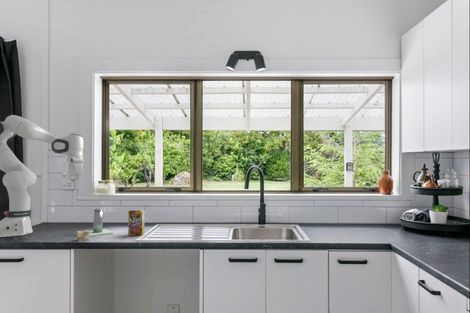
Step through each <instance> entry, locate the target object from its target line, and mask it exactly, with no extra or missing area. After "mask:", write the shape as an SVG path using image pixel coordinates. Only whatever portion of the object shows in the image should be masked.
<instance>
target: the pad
mask: <svg viewBox="0 0 470 313" xmlns="http://www.w3.org/2000/svg"><path fill="white" fill-rule="evenodd" d="M88 231H89V238H92V237H99V236H107V235H113V234H114V232H113V231H111V230H109V229H107V228H102V232H100V233H94V232H93V229H92V230H88Z"/></svg>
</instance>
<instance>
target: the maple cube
mask: <svg viewBox="0 0 470 313" xmlns="http://www.w3.org/2000/svg"><path fill="white" fill-rule="evenodd" d="M89 231H90V230H87V229H86V230H85V229H84V230H77V231H76V241H78V242H85V241H89V240H90V237H89Z"/></svg>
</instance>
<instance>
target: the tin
mask: <svg viewBox="0 0 470 313" xmlns="http://www.w3.org/2000/svg"><path fill="white" fill-rule="evenodd" d="M103 220H104V208H94V209H93V229H92V230H93V232H94V233H100V232H102V229H103V225H104V224H103V222H104V221H103Z"/></svg>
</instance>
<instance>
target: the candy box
mask: <svg viewBox="0 0 470 313" xmlns="http://www.w3.org/2000/svg"><path fill="white" fill-rule="evenodd" d="M127 212H128V214H127V215H128V220H127V226H128V228H127V231H128V232H127V235H128V236H134V237H135V236H140V237H143V236H144V235H145V213H146V212H145V209H128V211H127Z"/></svg>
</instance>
